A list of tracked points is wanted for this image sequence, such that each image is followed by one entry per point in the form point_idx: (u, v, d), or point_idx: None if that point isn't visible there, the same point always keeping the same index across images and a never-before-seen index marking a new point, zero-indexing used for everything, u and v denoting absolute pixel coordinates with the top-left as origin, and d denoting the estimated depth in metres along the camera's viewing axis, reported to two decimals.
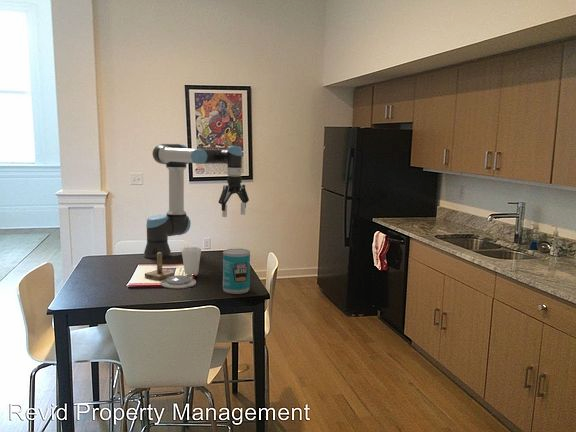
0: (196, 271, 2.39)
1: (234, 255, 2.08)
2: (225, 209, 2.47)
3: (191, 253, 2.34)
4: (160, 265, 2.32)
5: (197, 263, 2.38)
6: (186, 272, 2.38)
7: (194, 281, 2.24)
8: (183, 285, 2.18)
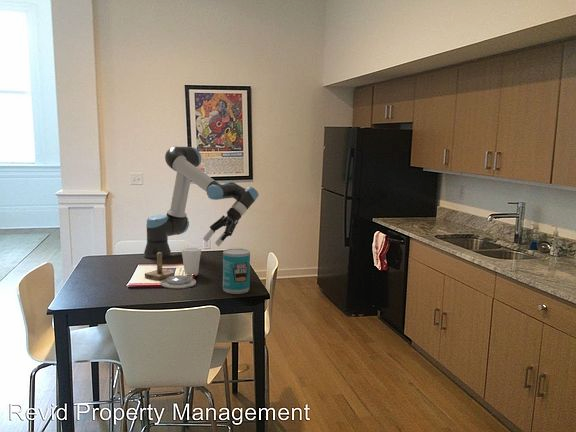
0: (196, 271, 2.39)
1: (234, 255, 2.08)
2: (223, 239, 2.40)
3: (191, 253, 2.34)
4: (160, 265, 2.32)
5: (197, 263, 2.38)
6: (186, 272, 2.38)
7: (194, 281, 2.24)
8: (183, 285, 2.18)
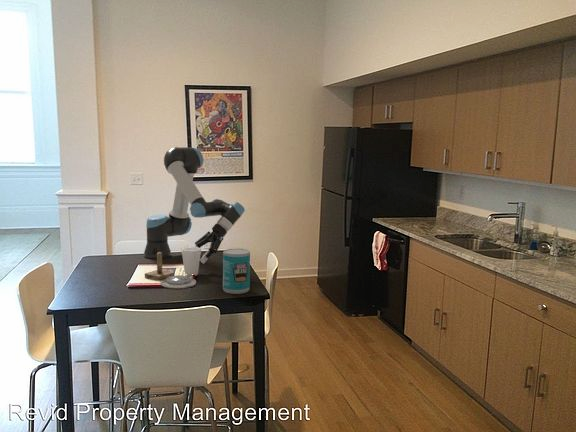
0: (196, 271, 2.39)
1: (234, 255, 2.08)
2: None
3: (191, 253, 2.34)
4: (160, 265, 2.32)
5: (197, 263, 2.38)
6: (186, 272, 2.38)
7: (194, 281, 2.24)
8: (183, 285, 2.18)
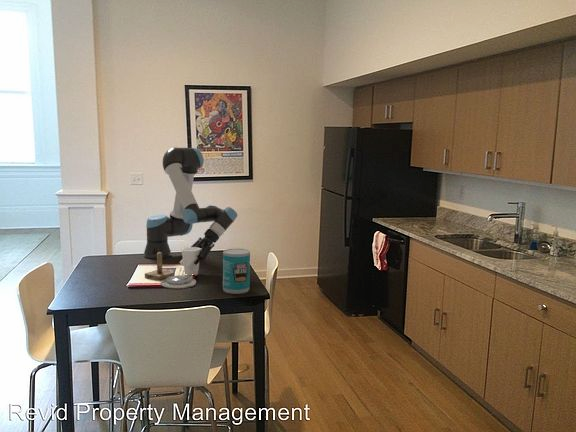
0: (196, 271, 2.39)
1: (234, 255, 2.08)
2: (196, 263, 2.36)
3: (191, 253, 2.34)
4: (160, 265, 2.32)
5: None
6: (186, 272, 2.38)
7: (194, 281, 2.24)
8: (183, 285, 2.18)
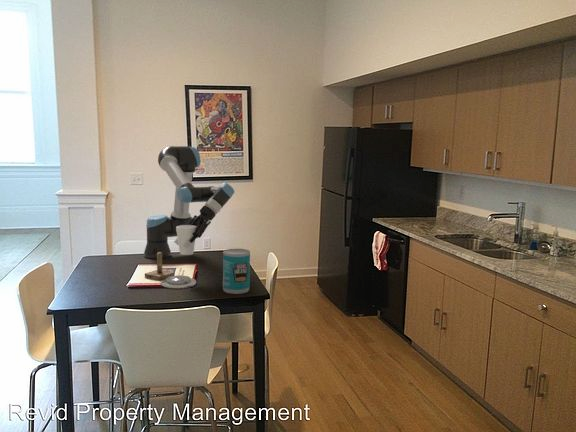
0: (192, 250, 2.26)
1: (234, 255, 2.08)
2: None
3: (186, 230, 2.22)
4: (160, 265, 2.32)
5: None
6: (181, 251, 2.25)
7: (194, 281, 2.24)
8: (183, 285, 2.18)
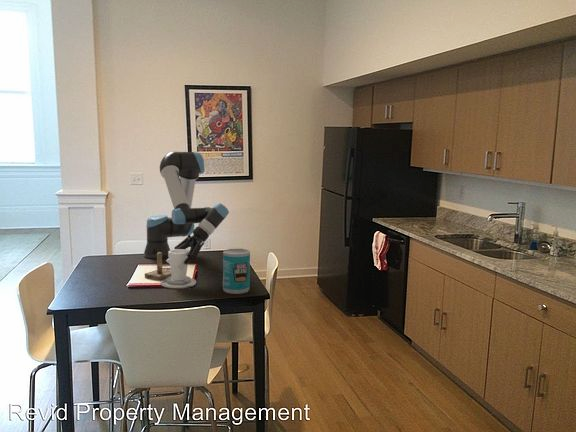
0: (184, 275, 2.21)
1: (234, 255, 2.08)
2: (186, 263, 2.17)
3: (178, 256, 2.17)
4: (160, 265, 2.32)
5: (185, 267, 2.20)
6: (173, 276, 2.20)
7: (194, 281, 2.24)
8: (183, 285, 2.18)
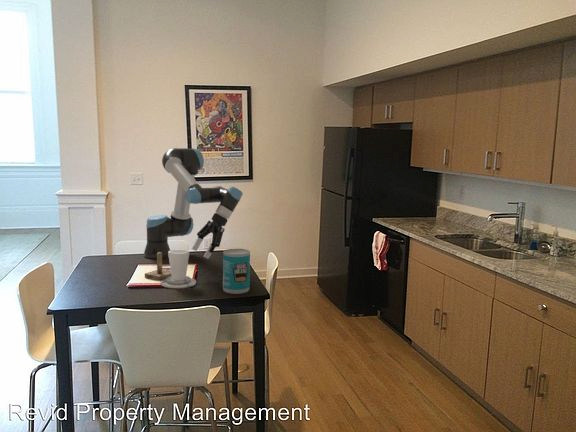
0: (184, 275, 2.21)
1: (234, 255, 2.08)
2: None
3: (178, 256, 2.17)
4: (160, 265, 2.32)
5: (185, 267, 2.20)
6: (173, 276, 2.20)
7: (194, 281, 2.24)
8: (183, 285, 2.18)
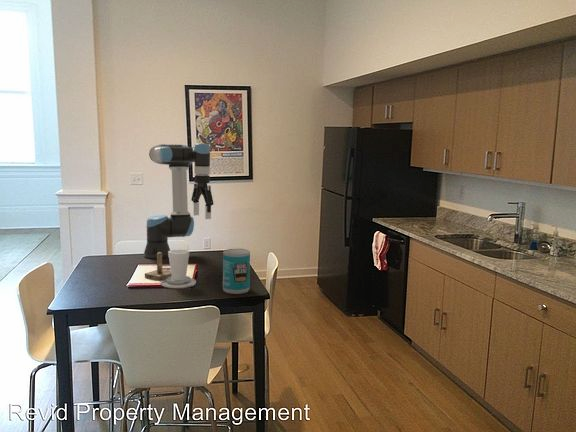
0: (184, 275, 2.21)
1: (234, 255, 2.08)
2: None
3: (178, 256, 2.17)
4: (160, 265, 2.32)
5: (185, 267, 2.20)
6: (173, 276, 2.20)
7: (194, 281, 2.24)
8: (183, 285, 2.18)
